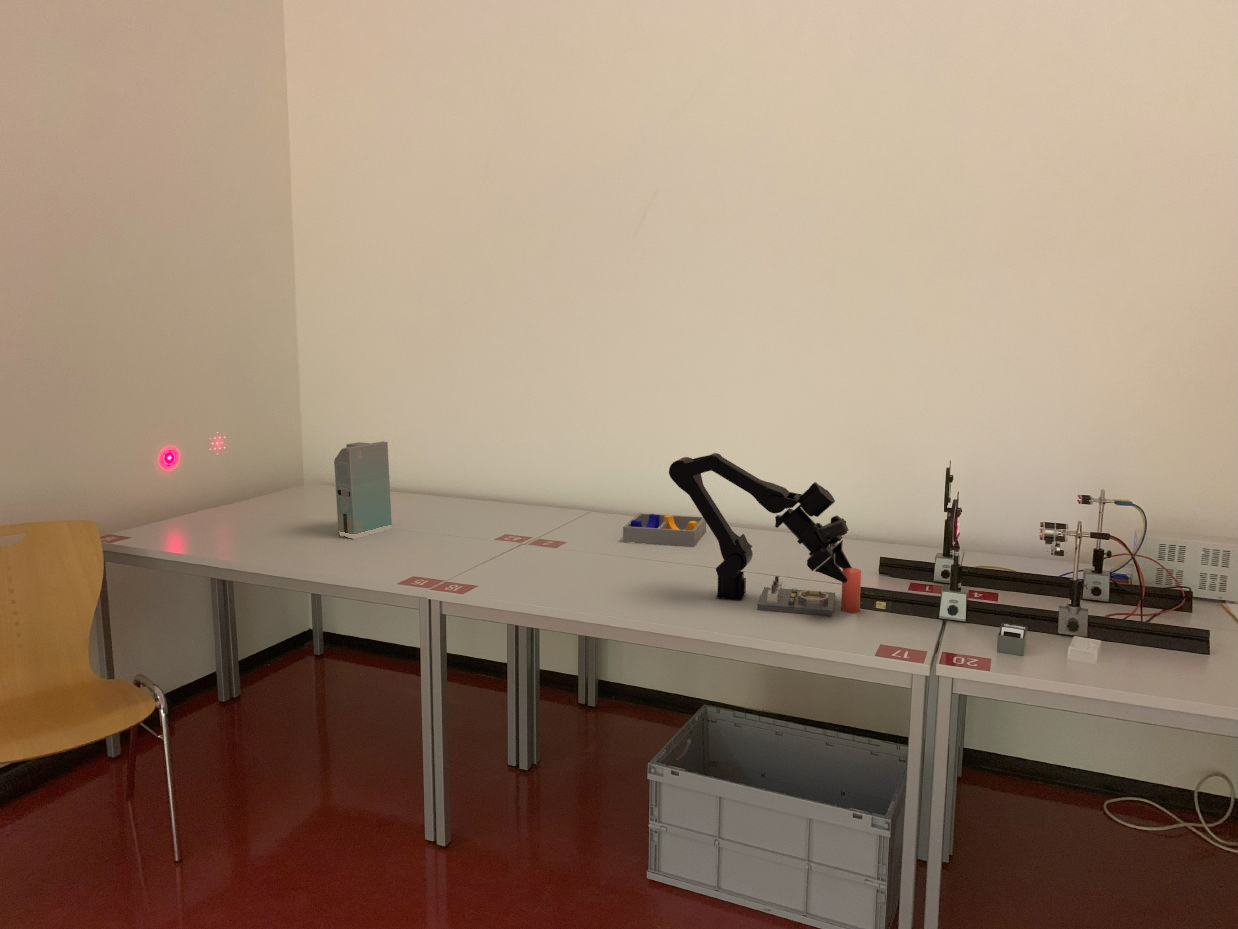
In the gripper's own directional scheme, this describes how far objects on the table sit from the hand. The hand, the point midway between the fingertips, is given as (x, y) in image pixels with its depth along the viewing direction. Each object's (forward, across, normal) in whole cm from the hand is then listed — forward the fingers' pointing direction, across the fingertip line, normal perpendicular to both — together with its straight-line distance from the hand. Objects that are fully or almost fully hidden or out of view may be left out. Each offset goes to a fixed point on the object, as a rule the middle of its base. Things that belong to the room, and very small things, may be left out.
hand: (848, 576), depth 218 cm
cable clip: (-45, +51, +56) cm, 88 cm away
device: (-108, +21, +119) cm, 162 cm away
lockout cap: (+6, 0, +6) cm, 9 cm away
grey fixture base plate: (-3, 0, +15) cm, 15 cm away
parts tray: (-40, +51, +52) cm, 83 cm away
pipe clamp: (-37, +52, +48) cm, 80 cm away
